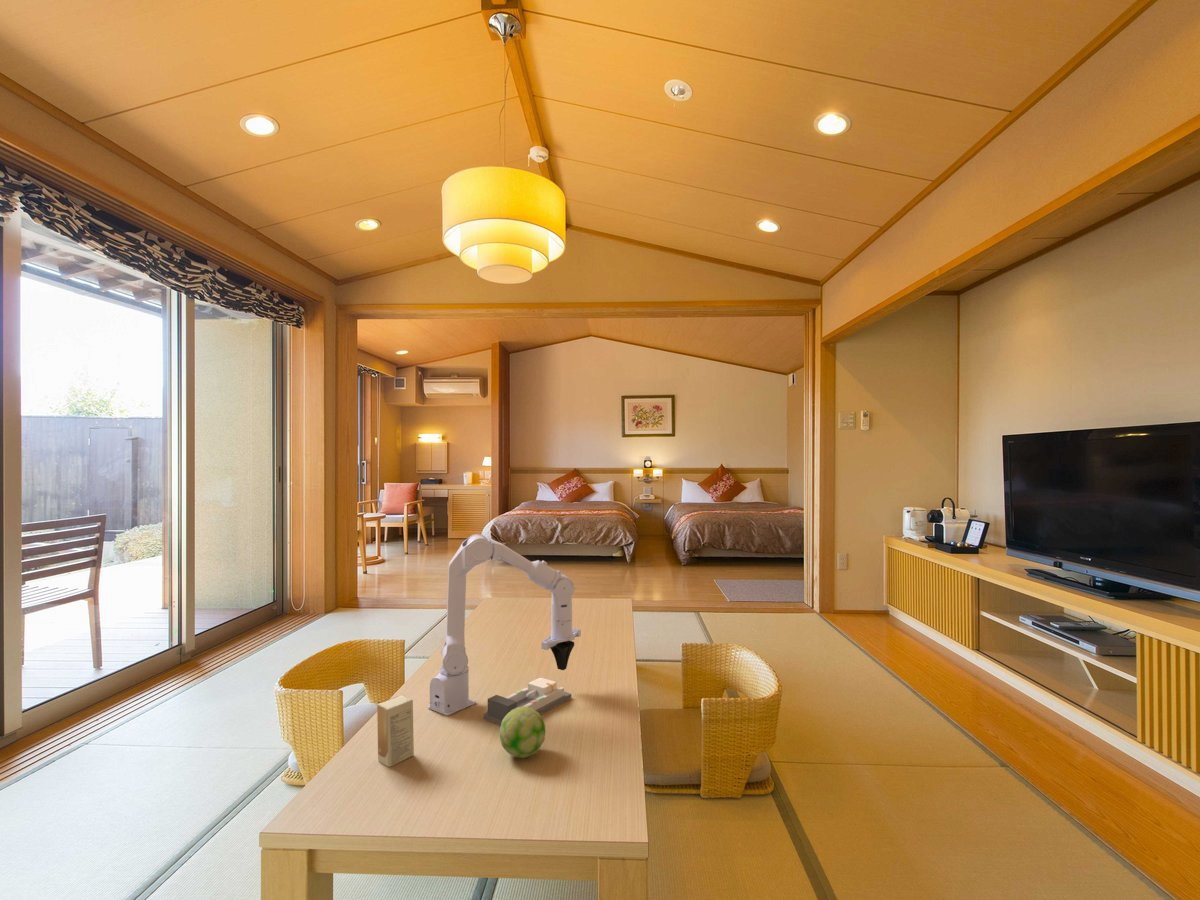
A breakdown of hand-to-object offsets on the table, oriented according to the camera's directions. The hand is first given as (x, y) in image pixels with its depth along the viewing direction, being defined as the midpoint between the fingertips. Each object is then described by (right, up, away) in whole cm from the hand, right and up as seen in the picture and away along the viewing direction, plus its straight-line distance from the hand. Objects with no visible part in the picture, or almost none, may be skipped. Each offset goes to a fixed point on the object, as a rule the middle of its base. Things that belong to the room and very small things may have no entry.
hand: (561, 668), depth 159 cm
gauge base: (-8, -6, -11) cm, 14 cm away
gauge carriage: (-5, -5, -8) cm, 11 cm away
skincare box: (-33, -6, -35) cm, 49 cm away
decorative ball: (-6, -6, -34) cm, 35 cm away
